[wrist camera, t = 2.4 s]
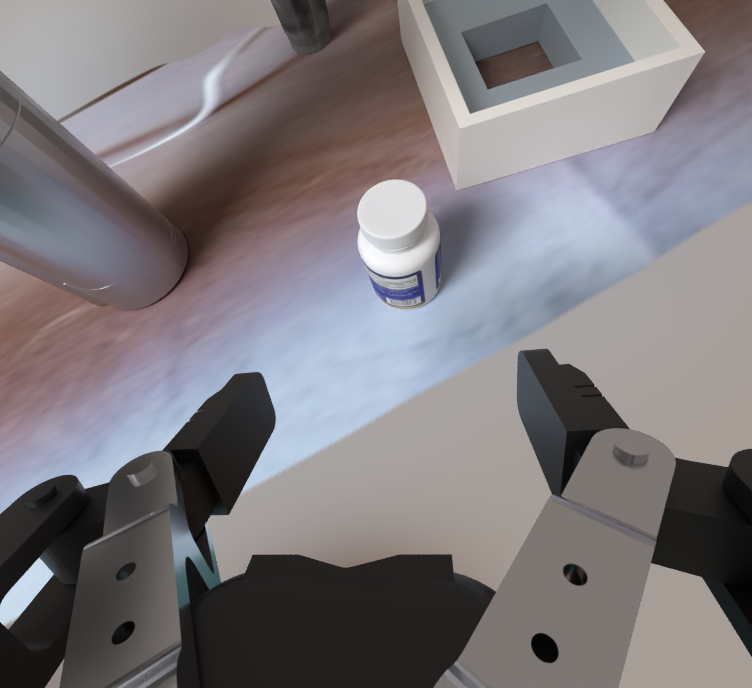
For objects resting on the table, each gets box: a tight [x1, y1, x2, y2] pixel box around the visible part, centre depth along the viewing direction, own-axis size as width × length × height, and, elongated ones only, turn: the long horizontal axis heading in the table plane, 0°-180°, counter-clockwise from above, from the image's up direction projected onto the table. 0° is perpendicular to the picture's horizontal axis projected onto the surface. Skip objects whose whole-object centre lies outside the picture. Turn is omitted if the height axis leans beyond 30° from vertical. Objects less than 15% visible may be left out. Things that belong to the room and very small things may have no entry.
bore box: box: [397, 0, 705, 191], centre depth 30 cm, size 16×20×6 cm
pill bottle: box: [357, 180, 441, 311], centre depth 24 cm, size 5×5×9 cm
